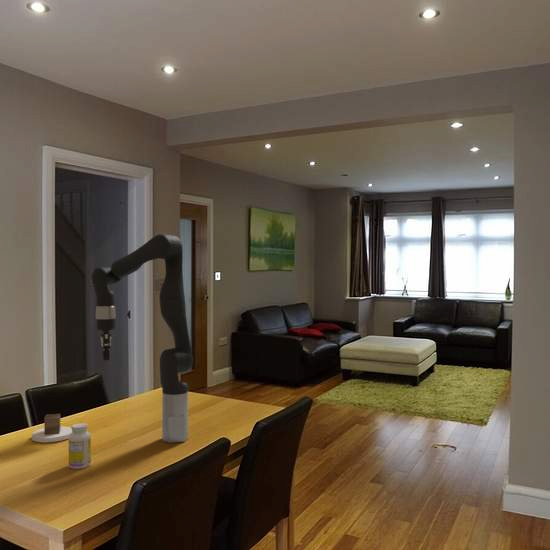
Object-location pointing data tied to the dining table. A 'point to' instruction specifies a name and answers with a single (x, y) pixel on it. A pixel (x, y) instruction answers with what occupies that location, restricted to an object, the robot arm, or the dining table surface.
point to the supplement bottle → (79, 447)
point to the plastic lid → (51, 435)
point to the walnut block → (52, 424)
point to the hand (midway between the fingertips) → (106, 358)
